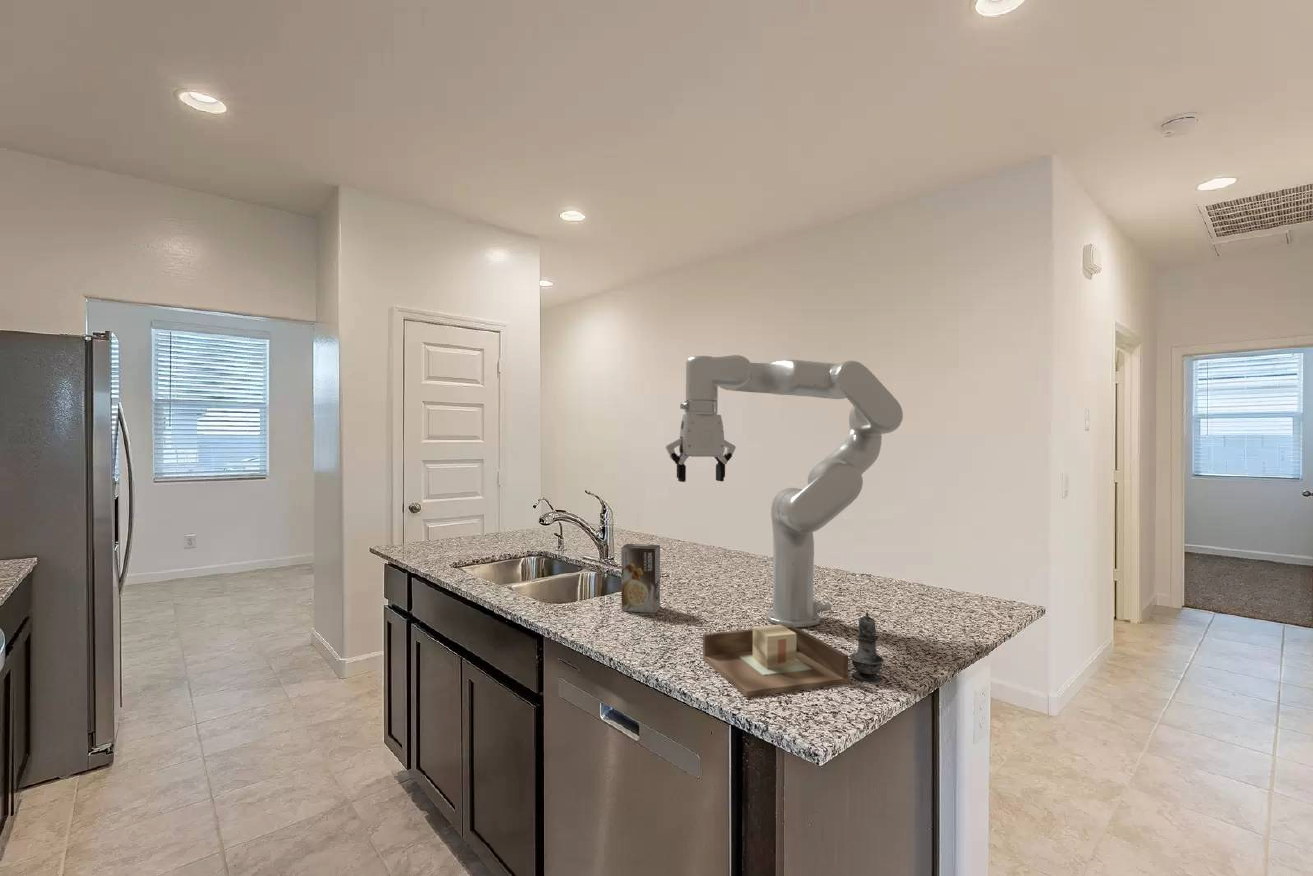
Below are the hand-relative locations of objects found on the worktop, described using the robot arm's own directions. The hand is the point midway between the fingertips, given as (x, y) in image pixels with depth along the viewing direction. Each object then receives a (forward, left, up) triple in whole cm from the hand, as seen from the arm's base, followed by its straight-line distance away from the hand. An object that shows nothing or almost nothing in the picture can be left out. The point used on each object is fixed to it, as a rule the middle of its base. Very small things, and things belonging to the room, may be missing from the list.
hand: (701, 481), depth 149 cm
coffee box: (+10, -15, -34) cm, 38 cm away
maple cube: (-2, +32, -32) cm, 45 cm away
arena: (-1, +33, -33) cm, 47 cm away
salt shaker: (-16, +41, -34) cm, 55 cm away
